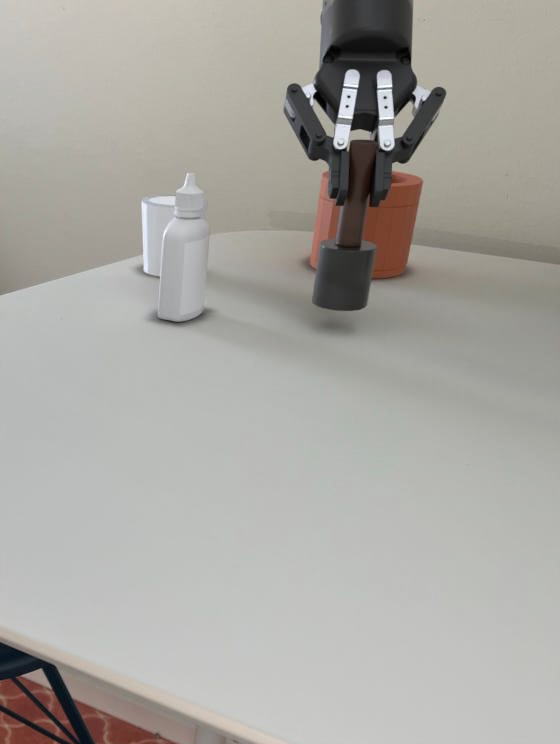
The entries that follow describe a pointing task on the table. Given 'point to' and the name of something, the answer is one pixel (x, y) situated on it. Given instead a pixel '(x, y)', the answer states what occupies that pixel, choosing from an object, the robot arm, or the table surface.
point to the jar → (376, 224)
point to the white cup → (157, 228)
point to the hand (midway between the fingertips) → (359, 199)
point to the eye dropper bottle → (184, 257)
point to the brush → (349, 241)
